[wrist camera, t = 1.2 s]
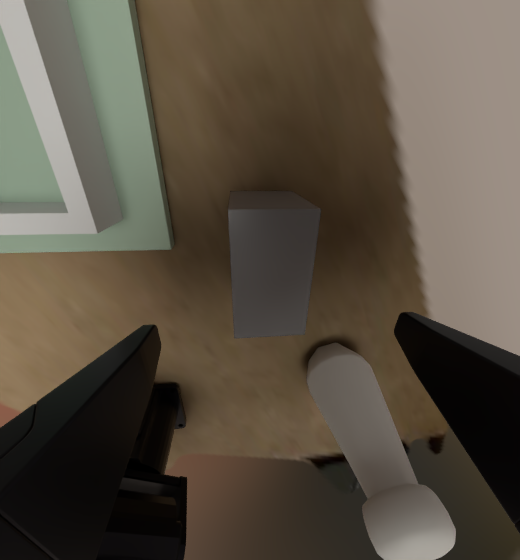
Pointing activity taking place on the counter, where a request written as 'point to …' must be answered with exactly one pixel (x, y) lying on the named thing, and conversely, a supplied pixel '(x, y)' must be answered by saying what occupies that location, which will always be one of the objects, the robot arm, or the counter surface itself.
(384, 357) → the counter surface
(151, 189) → the deck plate
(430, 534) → the salt shaker
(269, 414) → the counter surface
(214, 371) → the counter surface
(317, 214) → the chute block
